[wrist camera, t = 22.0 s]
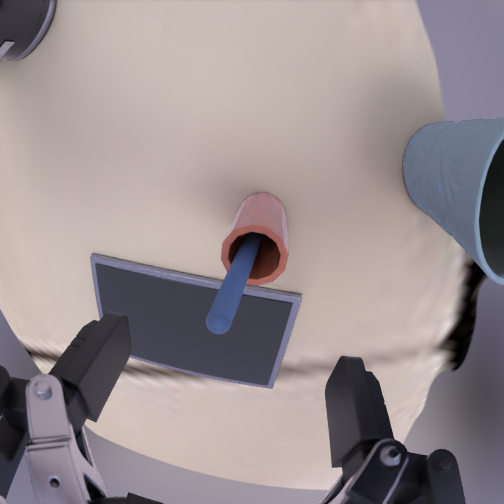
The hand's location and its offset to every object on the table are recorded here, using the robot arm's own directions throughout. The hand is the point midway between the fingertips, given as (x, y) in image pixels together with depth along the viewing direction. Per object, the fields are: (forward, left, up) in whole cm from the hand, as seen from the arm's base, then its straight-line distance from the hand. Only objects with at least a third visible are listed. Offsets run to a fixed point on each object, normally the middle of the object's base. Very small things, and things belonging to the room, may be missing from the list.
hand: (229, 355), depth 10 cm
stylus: (0, 0, -15) cm, 15 cm away
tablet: (-6, -14, -16) cm, 22 cm away
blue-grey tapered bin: (+15, +8, -16) cm, 24 cm away
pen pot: (0, 0, -16) cm, 16 cm away
